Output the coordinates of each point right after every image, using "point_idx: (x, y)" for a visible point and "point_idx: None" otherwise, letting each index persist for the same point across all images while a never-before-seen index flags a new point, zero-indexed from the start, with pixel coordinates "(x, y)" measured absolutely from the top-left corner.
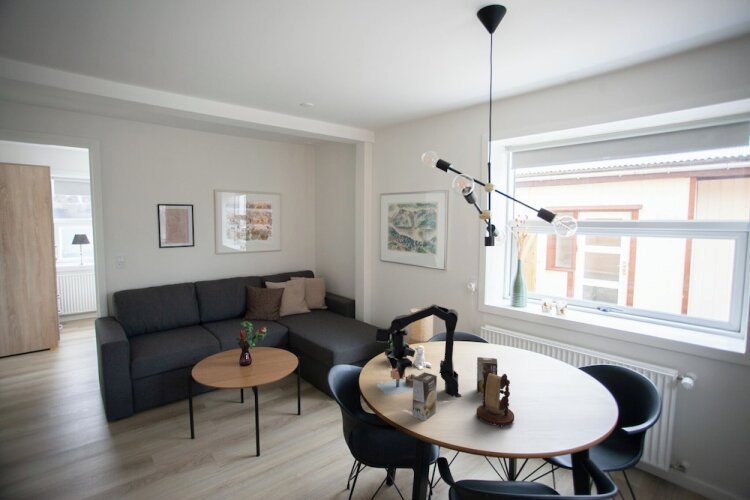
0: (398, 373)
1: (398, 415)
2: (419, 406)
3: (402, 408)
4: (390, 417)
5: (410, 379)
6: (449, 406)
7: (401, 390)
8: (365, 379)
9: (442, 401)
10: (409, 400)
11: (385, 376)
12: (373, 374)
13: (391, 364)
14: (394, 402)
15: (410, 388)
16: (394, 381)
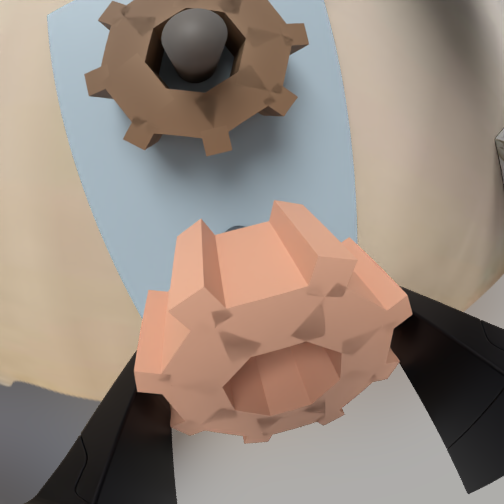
0: (381, 368)
1: (483, 273)
2: None
3: (465, 248)
4: (474, 302)
5: (249, 92)
6: (494, 18)
7: (326, 221)
8: (90, 397)
9: (464, 6)
10: (431, 186)
11: (16, 295)
12: (17, 354)
13: (175, 498)
14: (412, 281)
15: (309, 120)
16: (119, 256)
